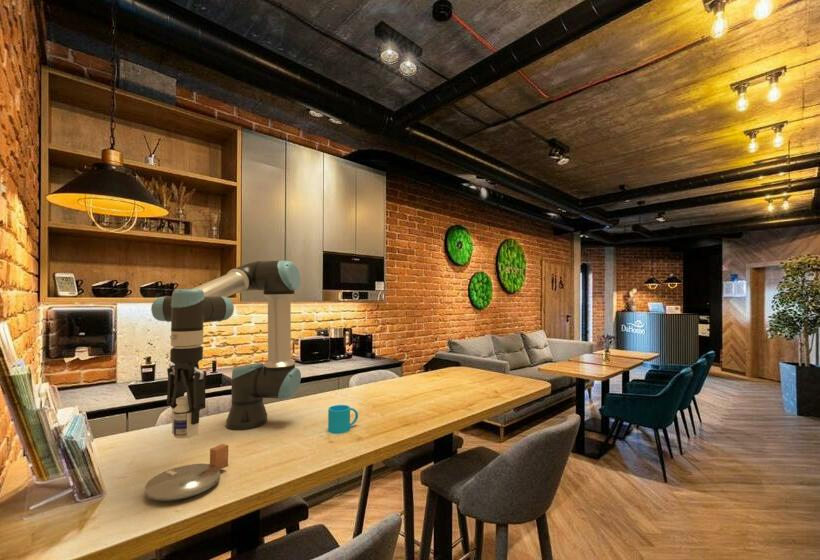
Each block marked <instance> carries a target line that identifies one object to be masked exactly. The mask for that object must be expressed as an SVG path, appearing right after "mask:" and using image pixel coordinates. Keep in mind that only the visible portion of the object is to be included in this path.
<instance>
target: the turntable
mask: <svg viewBox="0 0 820 560" xmlns="http://www.w3.org/2000/svg"><path fill="white" fill-rule="evenodd" d="M226 467H229V445H228V444H224V443H221V444H219V445H217V446H214V447H211V448H210V449H209V463H193V464H187V465H186V464H185V465H182V466H178V467H174V468H171V469H168V470H166V471H163V472H161V473H158V474H157V475H155V476H154V477H152V478H151V479H149V480H148V481H147V483H146V484H145V485H144V487H145V488H144V495H145V497H146V498H147V499H148V500H151V501H154V502H155V501H156V502H174V501H173V500H176V501H180V500H179V499H182V500H185V499H184V498H186V499H188V498H187V497H190V498H191V496H192V497H194V495H195V496H196V495H199V494H202V493H204V492H206V491H207V490H210V489H211V488H213V487H214V486H215V485H216V484H217V483H218V482H219V481H220V480H221V470H222V469H224V468H226Z"/></svg>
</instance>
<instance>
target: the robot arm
mask: <svg viewBox="0 0 820 560" xmlns="http://www.w3.org/2000/svg"><path fill="white" fill-rule="evenodd" d="M300 285H301V274H300V270H299V268H298V267H297V265H296V263H294V262H293V261H292V260H291V261H290V260H257V261H252V262H248V263H246V264H243V265H239V266H237V267H235V268H232V269H230V270H228V271H227V273H226V274H224V275H222V276H219V277H217V278H215V279H212V280H210V281H207V282H205V283H203V284H200V285H197V286H196V287H195V286H194V287H192V288H184V289H183V288H179V289H174V290H173V291H172V294H171V296H170V295H169V296H168V295H165V296H159V297H157V298H155V300H153V302H152V304H151V308H150V310H151V314H152V317H153V318H154V319H155V320H157V321H158V322H160V321H161V322H168V323H171V325H170V336H169V338H170V346H171V347H172V348H170V351H169V352H170V353H169V354H170V355H169V362H171V363H173V364H174V365H173V367H168V368H167V369H166V372H167V393H166V405H167V406H169V405H170V408H171V409H172V410H171V411H172V412H171V413H172V416H171V417H172V419H171V421H172V423H171V434H173V435H174V408H175V407H176V406H177V404H176V399H177V398H178V397H181V396H185V392H186V396H187V398H188V404H189V411H187V438H186V439H190V438H192V437H193V438H194V437H196V436H199V432H200V431H199V424H200V411H201V410H204V409H206V407H207V406H206V378H207V377H206V376H207V370H201V369H200V365H199V362H200V361H202V360H203V356H204V347H203V346H202V345H204V323H212V322H222V321H227V320H228V319H230V318H231V317H232V315H233V313H234V310H235V309H234V308H235V307H234V306H235V305H234V303H233V301H232V300H231V298H229V297H230V296H232V295H235V294H242V293H244V292H248V291H263V296H264V297H265V298H266V299H267V360H266V362H265V363H262V362H255V363H250V364H244V365H239V366H237V367H235V368H233V369H232V372H231V379H230V380H231V402H230V403H231V405H230V409H229V412H228V415H227V418H226V420H225V423H226V424H225V427H226V428H227V429H228V430H229V429H230V430H237V431H240V430H244V431H245V430H250V429H255V428H260V427H261V426H264V425H265V424H267V422H268V413H267V410H266V407H265V404H264V399H278V400H283V399H285V400H286V399H288V400H289V399H292V398H293V397H294V396H295V395H296V394H297V392H298V390H299V387H300V385H301V380H302V372H301V370H300V369H299V368H298V367H296V361H294V360H293V359H292V343H291V342H292V334H291V333H292V331H291V330H292V329H291V328H292V327H291V325H292V323H291V322H292V318H291V317H292V315H291V313H292V312H291V311H292V309H291V306H292V305H291V302H292V301H291V299H292V298H293V297H294V295H295V291H297V290H298V289H299V287H300Z"/></svg>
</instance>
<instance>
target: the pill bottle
mask: <svg viewBox="0 0 820 560" xmlns="http://www.w3.org/2000/svg"><path fill="white" fill-rule="evenodd" d="M176 404H177V406H176V407H175V408H174V434H173V437H174V438H176V439H188V438H187V411H189V404H188V398H187V395H184V396H181V397H178V398H177V399H176Z"/></svg>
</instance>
